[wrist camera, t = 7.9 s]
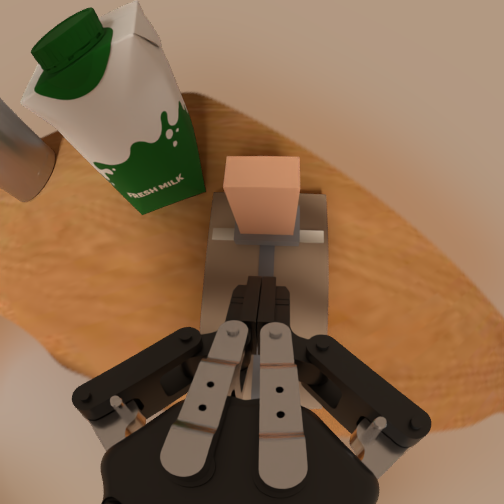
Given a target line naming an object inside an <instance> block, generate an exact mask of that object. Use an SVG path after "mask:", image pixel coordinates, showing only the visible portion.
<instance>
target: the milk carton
mask: <svg viewBox="0 0 504 504" xmlns="http://www.w3.org/2000/svg"><path fill="white" fill-rule="evenodd" d="M161 47H162V46H161V40H160V38H159V36H158V34H157V32H156V31H155V29H154V27H153V26H152V24H151V23H150V22H149V20H148V19H147V17H146V16H145V15H144V13H143V10H142V8H141V6H140V4H139V2H138V0H136V1H133V2H131V3H129V4H126V5H124V6H122V7H120V8H117V9H115V10H114V11H111V12H109V13H107V14H105V15H103V16H101V17H99V18H98V16H97V14H96V13H95V11H94V9H93V8H87V9H84V10H82V11H80V12H78V13H76V14H74V15H72V16H70V17H69V18H67V19H66V20H64V21H63V22H61V23H60V24H58V25H57V26H55V27H54V28H53V29H52V30H50V31H49V32H48V33H47V34H46V35H45V36H43V37H42V38H41V39H40V40H39V41H38V42H37V44H36V45H35V46H34V47H33V49H32V50H31V53H32V55H33V56H34V58H35V59H36V61H37V62H38V65H37V67H36V70H35V72H34V74H33V76H32V77H31V79H30V82H29V83H28V86H27V88H26V90H25V92H24V94H23V96H22V99H21V102H20V103H21V105H23V106H24V107H26V108H27V109H29V110H30V111H32V112H33V113H35V114H36V115H38V116H39V117H41V118H42V119H43V120H45V121H46V122H48V123H49V124H51V125H52V126H54V127H55V128H56V129H57V130H58V131H59V132H60V133H61V134H62V135H63V136H64V137H65V138H66V139H67V140H68V141H69V142H70V143H71V144H72V145H73V147H74V148H75V149H76V150H77V151H78V152H79V153H80V154H81V155H82V156H83V157H84V158H85V159H86V160H87V161H88V162H89V163H90V164H91V165H92V166H93V167H94V168H95V169H96V170H97V171H98V172H99V173H100V174H101V175H102V176H103V177H105V178H106V179H107V180H108V181H109V182H110V183H111V184H112V185H113V186H114V187H115V188H116V189H117V190H118V191H119V192H120V193H121V194H122V195H123V196H124V197H125V198H126V199H127V200H128V201H129V202H130V203H131V204H132V205H133V206H134V207H135V208H136V209H137V210H138V211H139V212H140V213H141V214H142V215H144V214H146V213H149V212H151V211H154V210H157V209H159V208H162V207H164V206H167V205H170V204H172V203H175V202H178V201H181V200H183V199H186V198H189V197H192V196H194V195H197V194H200V193H203V192H206V190H205V185H204V180H203V175H202V169H201V164H200V158H199V153H198V148H197V143H196V138H195V134H194V129H193V125H192V122H191V119H190V116H189V113H188V111H187V108H186V106H185V103H184V100H183V98H182V95H181V93H180V91H179V88H178V86H177V83H176V80H175V78H174V75H173V73H172V70H171V68H170V65H169V63H168V60H167V58H166V56H165V54H164V52H163V50H162V48H161Z"/></svg>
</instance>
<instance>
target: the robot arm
mask: <svg viewBox="0 0 504 504" xmlns="http://www.w3.org/2000/svg"><path fill="white" fill-rule="evenodd" d="M54 163H55V153H54V151H53V150H52V149H51V148H50V147H49V146H48V145H47V144H46V143H45V142H43V141H42V140H41V139H40V138H39V137H38V136H37V135H36V134H35V133H34V132H33V131H32V130H31V129H30V128H29V127H28V126H27V125H26V124H25V123H24V122H23V121H22V120H21V119H20V118H19V117H18V116H17V115H16V114H15V113H14V112H13V111H12V110H11V109H10V108H9V107H8V106H7V105H6V104H5V103H4V102H3V100H2V99H1V98H0V188H2V189H3V190H4V191H6V192H7V193H9V194H10V195H12V196H14V197H15V198H17V199H18V200H20V201H22V202H27V201H29V200H31V199H32V198H34V197H35V196H36V195H37V194H38V193H39V192H40V190H41V189H42V188H43V187H44V185H45V184H46V182H47V180H48V178H49V177H50V175H51V172H52V170H53V167H54ZM257 347H258V355H260V398H257V399H250V400H243V394H244V390H245V386H246V382H247V377H248V373H249V369H250V362H251V356H252V355H257ZM298 381H299V382H301V385H302V386H303V387H304V389H305V390H306V391H307V392H308V393H309V394H310V395H311V396H313V397H314V398H315V399H316V400H317V401H318V402H319V403H320V404H321V405H322V406H323V407H324V408H325V409H326V410H327V411H328V412H329V413H330V414H331V415H332V416H333V417H334V418H335V419H336V420H337V421H338V422H339V423H340V424H341V425H343V426H344V427H345V428H346V429H347V430H348V431H349V432H350V433H351V434H352V435H351V437H350V446H351V448H352V449H353V450H354V452H355V454H356V455H355V454H354V453H353V452H352V451H351V450H350V449H349V448H348V447H347V446H346V445H345V444H344V443H343V442H342V441H341V440H340V439H339V438H338V437H337V436H336V435H335V434H334V433H333V432H332V431H331V430H330V429H329V428H328V427H327V425H326V424H325V423H324V422H323V421H322V420H321V419H320V418H319V417H318V416H317V415H316V414H315V413H314V412H312V411H311V410H309V409H308V408H305V407H303V406H301V402H300V391H299V382H298ZM187 392H188V394H187V396H186V399H184V400H182V401H180V402H178V403H176V404H175V405H173V406H172V407H170V408H169V409H167V410H166V411H165V412H163V413H162V414H160V415H159V416H157V417H156V418H154V419H153V420H152V421H150V422H149V423H147V424H146V419H148V418H149V417H151V416H152V415H154V414H156V413H157V412H159V411H160V410H162V409H163V408H165V407H166V406H168V405H169V404H171V403H172V402H174V401H175V400H177V399H178V398H180V397H181V396H183V395H184V394H186V393H187ZM72 402H73V404H74V406H75V407H76V408H77V409H78V410H79V411H80V413H81V414H82V415H83V417H84V418H85V419H86V420H87V421H88V422H89V423H90V424H91V426H92V427H93V429H94V431H95V433H96V435H97V436H98V438H99V440H100V442H101V443H102V445H103V447H104V448H105V450H106V453H105V454H104V456H103V458H102V461H101V475H102V479H103V486H104V497H103V501H102V504H376V502H377V500H378V496H379V483H378V479H379V478H380V477H381V476H382V475H383V474H384V473H385V472H386V471H387V470H388V469H389V468H390V467H391V466H392V465H393V464H394V463H395V462H396V461H397V460H398V459H399V457H401V456H402V455H403V454H405V453H406V452H407V451H408V450H409V449H411V448H412V447H413V446H414V445H415V444H417V443H418V442H419V441H420V440H421V439H422V438H423V437H424V436H426V435H427V434H428V432H429V431H430V428H431V419H430V417H429V415H428V414H427V413H426V412H425V411H424V410H422V409H421V408H420V407H419V406H417V405H416V404H415V403H413V402H412V401H411V400H410V399H408V398H407V397H406V396H405V395H403V394H402V393H401V392H399V391H398V390H397V389H396V388H394V387H393V386H392V385H391V384H389V383H388V382H387V381H386V380H384V379H383V378H382V377H381V376H379V375H378V374H377V373H376V372H374V371H373V370H372V369H371V368H369V367H368V366H367V365H366V364H364V363H363V362H362V361H361V360H359V359H358V358H357V357H356V356H354V355H353V354H352V353H351V352H349V351H348V350H347V349H346V348H345V347H343V346H342V345H341V344H340V343H338V342H337V341H336V340H335V339H333V338H332V337H330V336H328V335H323V334H320V335H315V336H313V337H311V338H310V339H306V338H302V337H299V336H297V335H296V334H295V333H294V332H293V331H292V330H291V327H290V292H289V290H288V289H287V287H286V286H276V277H269V276H263V279H262V276H248V280H247V285H238V286H237V287H236V288H235V289H234V290H233V292H232V296H231V300H230V304H229V308H228V312H227V316H226V320H225V322H224V323H223V324H221V325H220V327H219V328H218V330H217V331H215V332H212V333H207V334H200V332H199V331H198V330H197V329H195V328H191V327H185V328H181V329H179V330H177V331H175V332H174V333H172V334H170V335H168V336H167V337H165V338H163V339H162V340H160V341H158V342H157V343H155V344H153V345H151V346H150V347H148V348H146V349H145V350H143V351H141V352H139V353H138V354H136V355H134V356H132V357H131V358H129V359H127V360H125V361H124V362H122V363H120V364H118V365H117V366H115V367H113V368H111V369H110V370H108V371H106V372H104V373H102V374H101V375H99V376H97V377H95V378H93V379H92V380H90V381H88V382H86V383H84V384H82V385H81V386H79V387H78V388H76V390H75V391H74V392H73V395H72ZM145 424H146V425H145Z"/></svg>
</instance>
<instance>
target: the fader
mask: <svg viewBox="0 0 504 504" xmlns="http://www.w3.org/2000/svg"><path fill="white" fill-rule="evenodd" d="M223 188H224V191H225V194H226V196H227V199H228V202H229V204H230V207H231V210H232V212H233V215H234V217H235V230H234V241H235V244H238V245H271V246H299V242H300V206H298V200H299V193H300V161H299V157H285V156H227V160H226V168H225V176H224V184H223Z"/></svg>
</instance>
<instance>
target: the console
mask: <svg viewBox="0 0 504 504" xmlns="http://www.w3.org/2000/svg"><path fill="white" fill-rule="evenodd" d="M298 206H300V242H299V246H271V245H238V244H235V241H234V230H235V217H234V215H233V212H232V210H231V207H230V204H229V202H228V199H227V196H226V194H225V192H214V194H213V201H212V209H211V218H210V226H209V235H208V244H207V253H206V263H205V273H204V284H203V296H202V308H201V321H200V334H207V333H212V332H215V331H217V330H218V328H219V327H220V325H221V324H223V323H224V322H225V320H226V316H227V312H228V308H229V304H230V300H231V296H232V292H233V290H234V289H235V288H236V287H237V286H238V285H247V280H248V276H262V279H263V276H269V277H276V286H286V287H287V289H288V290H289V292H290V327H291V330H292V331H293V332H294V333H295V334H296V335H297V336H299V337H302V338H306V339H310V338H311V337H313V336H315V335H320V334H323V335H327V328H328V284H329V268H328V223H327V202H326V195H324V194H301V193H299V200H298ZM298 382H299V381H298ZM299 391H300V402H301V406H303V407H305V408H308V409H322V405H321V404H320V403H319V402H318V401H317V400H316V399H315V398H314V397H313V396H311V395H310V394H309V393H308V392H307V391H306V390H305V389H304V387H303V386H302V385H301V382H299ZM257 398H260V355H258V347H257V355H252V356H251V362H250V369H249V373H248V377H247V382H246V386H245V390H244V394H243V400H250V399H257Z"/></svg>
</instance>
